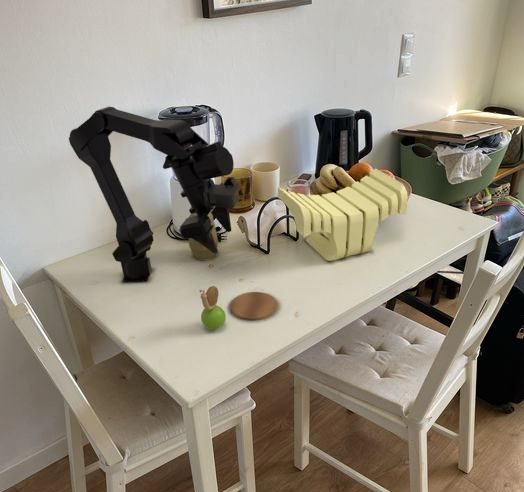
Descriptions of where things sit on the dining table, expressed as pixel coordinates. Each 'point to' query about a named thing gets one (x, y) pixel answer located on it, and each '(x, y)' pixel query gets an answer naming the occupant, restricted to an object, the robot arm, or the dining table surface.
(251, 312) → the plate
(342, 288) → the dining table surface
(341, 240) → the slatted curved stool
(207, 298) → the snail figurine
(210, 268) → the dining table surface
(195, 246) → the squeeze bottle
